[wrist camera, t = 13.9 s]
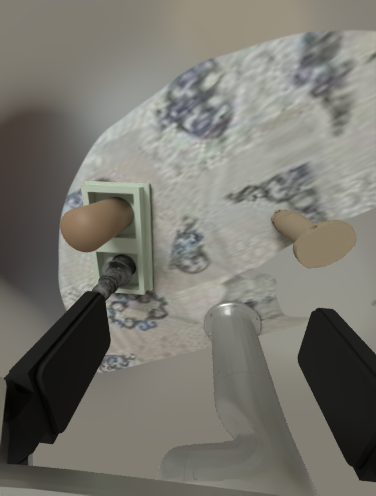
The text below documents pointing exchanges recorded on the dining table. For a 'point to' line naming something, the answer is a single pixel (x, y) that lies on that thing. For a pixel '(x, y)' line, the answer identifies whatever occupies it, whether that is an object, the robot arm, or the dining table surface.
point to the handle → (315, 238)
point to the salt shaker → (115, 275)
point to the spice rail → (129, 235)
